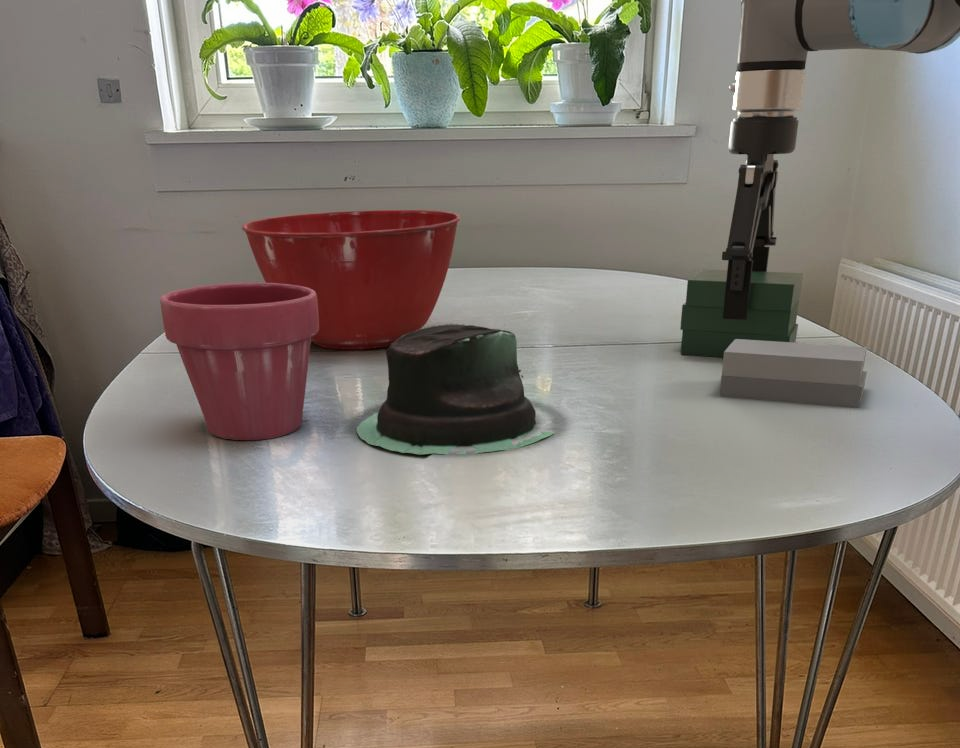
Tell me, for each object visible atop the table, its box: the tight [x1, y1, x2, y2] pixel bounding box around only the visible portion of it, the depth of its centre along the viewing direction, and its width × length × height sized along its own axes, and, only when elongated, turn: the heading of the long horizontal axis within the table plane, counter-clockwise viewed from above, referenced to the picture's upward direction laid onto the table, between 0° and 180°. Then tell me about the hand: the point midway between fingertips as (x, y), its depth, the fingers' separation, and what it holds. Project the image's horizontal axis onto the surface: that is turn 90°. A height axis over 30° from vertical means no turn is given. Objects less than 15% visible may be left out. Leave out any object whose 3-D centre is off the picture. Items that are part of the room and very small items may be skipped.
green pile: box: [679, 299, 800, 358], centre depth 119 cm, size 13×8×6 cm, turn 67°
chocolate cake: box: [356, 322, 555, 456], centre depth 91 cm, size 15×19×20 cm
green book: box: [685, 268, 804, 311], centre depth 117 cm, size 12×10×3 cm
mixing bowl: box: [241, 209, 461, 350], centre depth 127 cm, size 28×28×16 cm
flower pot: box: [159, 282, 319, 441], centre depth 91 cm, size 14×14×13 cm
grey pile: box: [718, 339, 868, 409], centre depth 100 cm, size 14×7×5 cm, turn 67°
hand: (743, 309), depth 118 cm, fingers open, 13 cm apart
